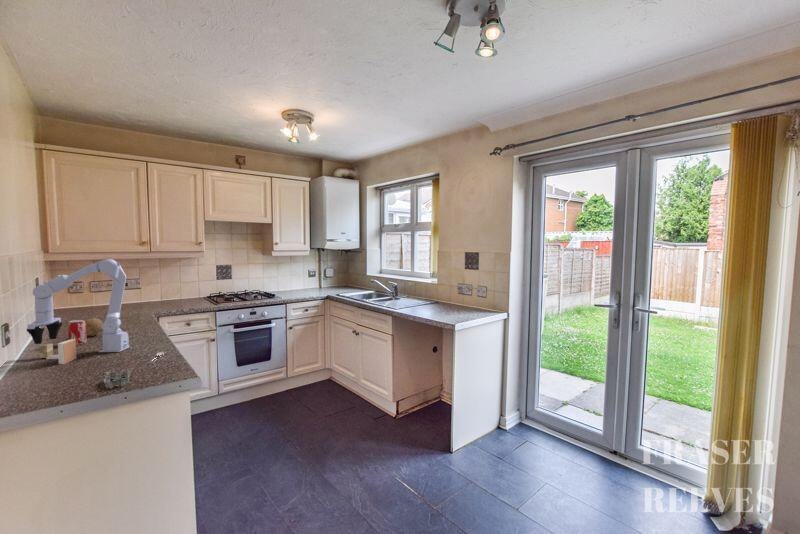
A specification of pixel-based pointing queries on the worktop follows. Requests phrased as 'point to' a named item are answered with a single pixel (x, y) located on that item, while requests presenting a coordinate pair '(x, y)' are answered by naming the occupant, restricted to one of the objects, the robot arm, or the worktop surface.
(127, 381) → the egg carton
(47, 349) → the beige l-shaped block
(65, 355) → the tile
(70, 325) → the red and white box
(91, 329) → the natural sponge
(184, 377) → the worktop surface
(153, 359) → the fork
